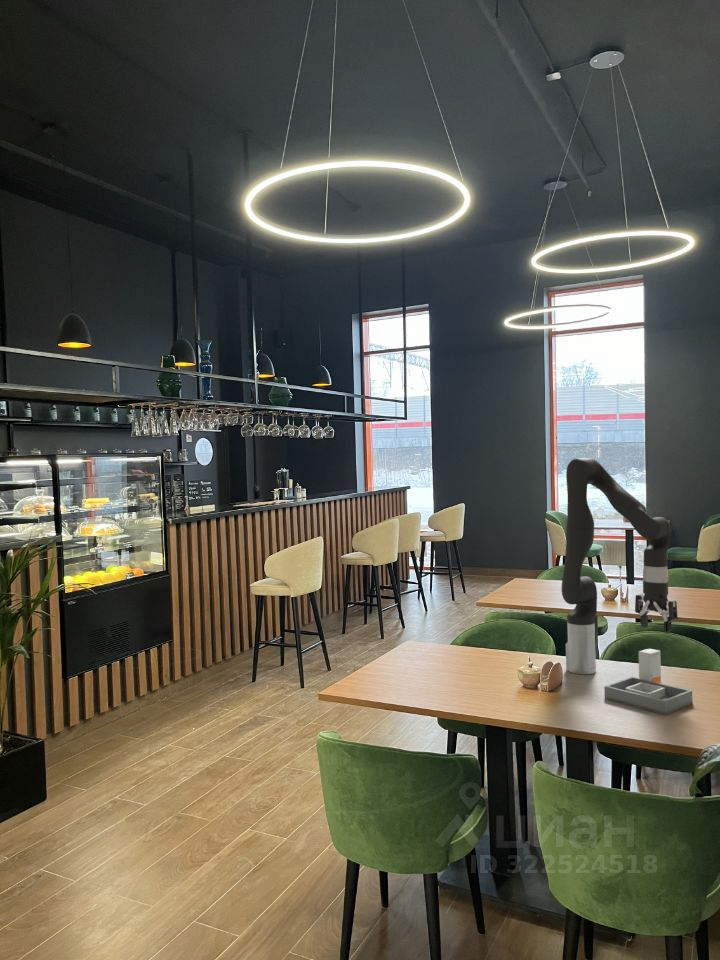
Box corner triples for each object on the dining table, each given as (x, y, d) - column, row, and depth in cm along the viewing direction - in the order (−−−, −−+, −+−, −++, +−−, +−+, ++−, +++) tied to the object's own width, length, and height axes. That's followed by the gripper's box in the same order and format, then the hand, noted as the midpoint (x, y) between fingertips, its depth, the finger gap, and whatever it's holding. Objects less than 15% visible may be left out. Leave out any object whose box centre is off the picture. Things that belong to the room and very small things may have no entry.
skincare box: (650, 691, 229) (649, 653, 229) (638, 687, 232) (637, 651, 232) (661, 687, 232) (660, 650, 232) (650, 684, 236) (649, 648, 236)
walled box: (604, 699, 222) (604, 686, 222) (632, 689, 231) (632, 676, 231) (665, 715, 206) (665, 701, 206) (692, 703, 215) (692, 690, 215)
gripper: (629, 577, 234) (629, 627, 235) (666, 584, 222) (667, 636, 222) (644, 575, 238) (645, 624, 239) (682, 581, 226) (682, 632, 226)
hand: (655, 629), depth 230 cm, fingers open, 8 cm apart
